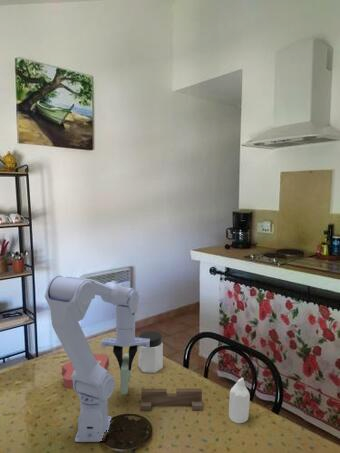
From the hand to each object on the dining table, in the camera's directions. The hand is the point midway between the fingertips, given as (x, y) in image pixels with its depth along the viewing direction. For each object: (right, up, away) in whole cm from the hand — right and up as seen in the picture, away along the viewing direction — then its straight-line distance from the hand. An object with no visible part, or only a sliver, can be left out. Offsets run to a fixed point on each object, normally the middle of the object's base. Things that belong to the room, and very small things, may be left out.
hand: (125, 368), depth 105 cm
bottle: (+33, -10, -8) cm, 36 cm away
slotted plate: (0, -5, +1) cm, 5 cm away
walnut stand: (+14, -10, -3) cm, 17 cm away
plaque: (-17, -8, +15) cm, 24 cm away
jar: (+7, -8, +19) cm, 22 cm away
